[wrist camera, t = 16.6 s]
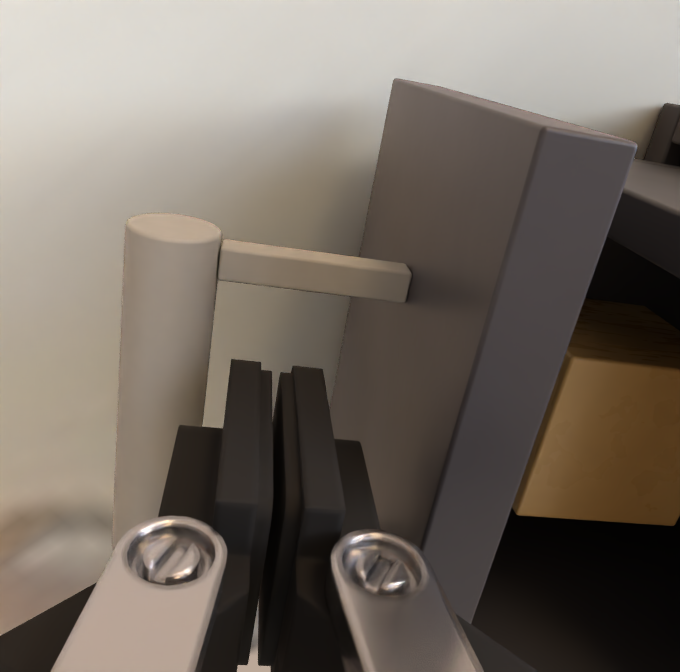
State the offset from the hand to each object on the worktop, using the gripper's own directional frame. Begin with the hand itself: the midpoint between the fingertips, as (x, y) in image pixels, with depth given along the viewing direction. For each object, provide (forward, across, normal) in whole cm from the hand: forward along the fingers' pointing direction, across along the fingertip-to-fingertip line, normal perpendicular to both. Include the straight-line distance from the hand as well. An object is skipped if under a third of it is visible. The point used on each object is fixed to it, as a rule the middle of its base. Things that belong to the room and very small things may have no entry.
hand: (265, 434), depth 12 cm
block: (+5, -8, 0) cm, 9 cm away
